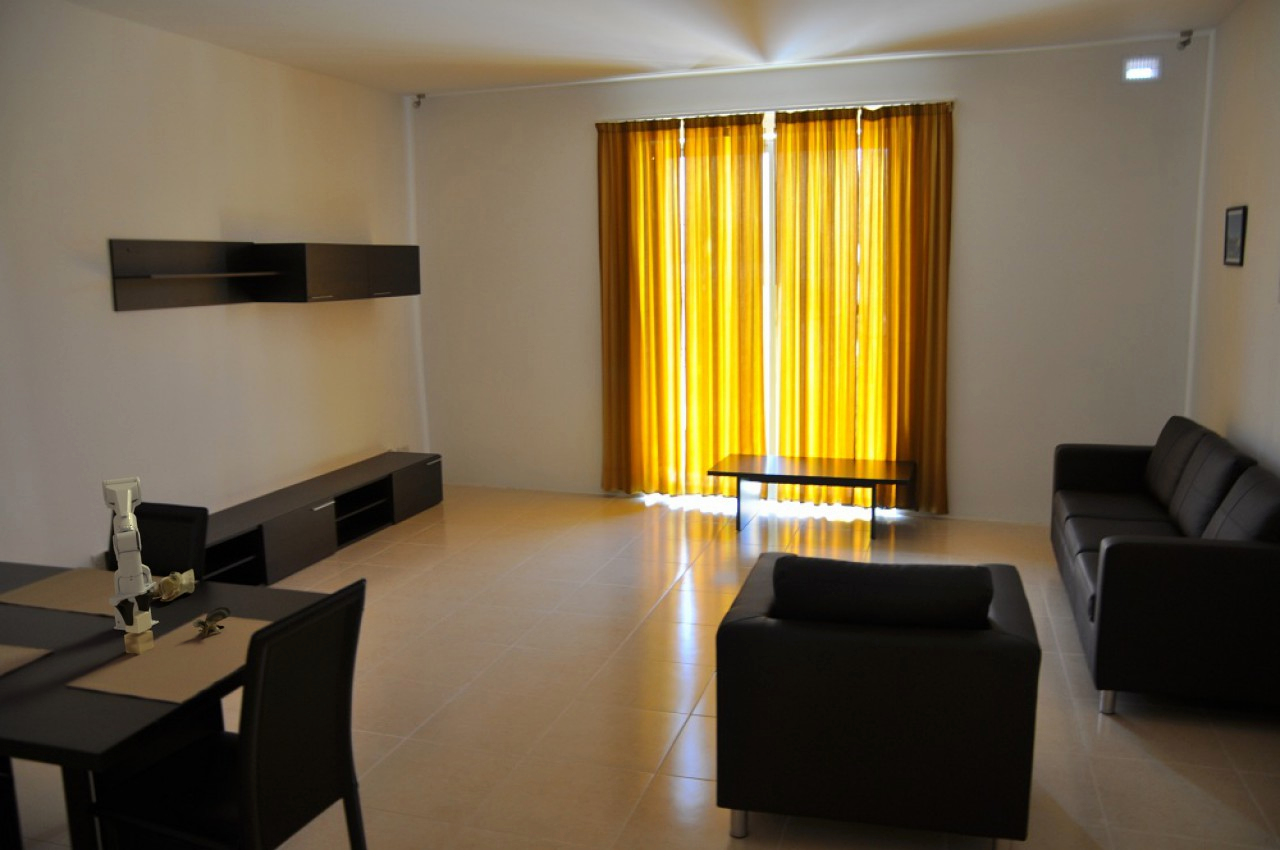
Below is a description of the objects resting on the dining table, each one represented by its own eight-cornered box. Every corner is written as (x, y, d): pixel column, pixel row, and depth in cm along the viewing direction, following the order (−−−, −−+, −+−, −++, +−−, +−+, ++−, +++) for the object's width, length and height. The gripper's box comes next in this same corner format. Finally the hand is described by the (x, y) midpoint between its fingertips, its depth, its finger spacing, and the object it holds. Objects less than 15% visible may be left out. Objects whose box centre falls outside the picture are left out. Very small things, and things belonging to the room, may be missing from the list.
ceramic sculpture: (201, 566, 332) (158, 583, 320) (206, 592, 334) (163, 609, 322) (181, 562, 338) (138, 578, 326) (186, 587, 340) (143, 604, 328)
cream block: (126, 631, 285) (124, 616, 284) (139, 625, 289) (137, 610, 289) (138, 633, 284) (136, 617, 283) (151, 627, 288) (149, 612, 287)
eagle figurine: (223, 634, 294) (238, 616, 303) (205, 614, 292) (220, 597, 301) (203, 648, 296) (218, 629, 305) (184, 628, 294) (200, 610, 303)
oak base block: (126, 652, 286) (124, 635, 285) (140, 646, 291) (138, 628, 290) (140, 654, 285) (138, 637, 284) (154, 647, 289) (152, 630, 288)
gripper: (120, 584, 276) (126, 633, 278) (163, 567, 289) (168, 614, 291) (100, 581, 278) (106, 630, 281) (143, 565, 292) (148, 611, 294)
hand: (136, 622), depth 286 cm, fingers closed on cream block, 4 cm apart
